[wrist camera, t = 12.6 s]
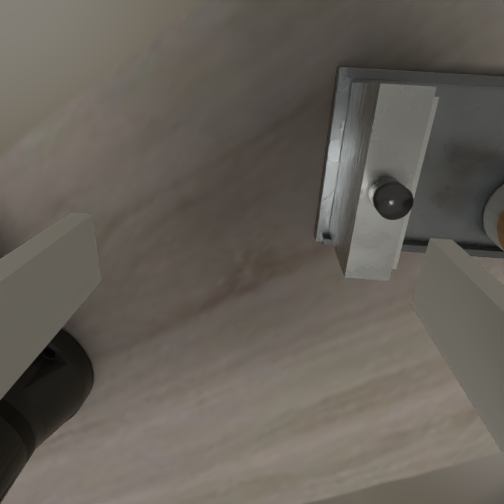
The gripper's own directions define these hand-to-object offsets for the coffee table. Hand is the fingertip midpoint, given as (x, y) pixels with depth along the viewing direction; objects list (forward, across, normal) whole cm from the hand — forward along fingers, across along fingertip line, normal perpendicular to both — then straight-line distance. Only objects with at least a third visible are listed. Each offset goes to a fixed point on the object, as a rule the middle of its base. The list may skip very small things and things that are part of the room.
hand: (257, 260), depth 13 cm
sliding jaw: (+18, +8, 0) cm, 20 cm away
